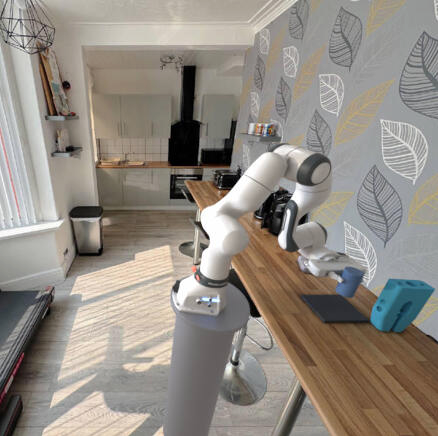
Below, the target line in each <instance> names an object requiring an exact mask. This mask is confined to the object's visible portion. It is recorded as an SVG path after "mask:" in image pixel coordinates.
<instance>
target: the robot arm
mask: <svg viewBox="0 0 438 436" xmlns="http://www.w3.org/2000/svg"><path fill="white" fill-rule="evenodd" d="M282 179H285V180H288V181H290V182H294V183H295V189H294V191H293V194H292V196H291V197H290V199H289V200H288V201H287V203H286V205H285V207H284V212H283V218H282V221H281V228H280V230H279V233H278V236H277V243H278V245H279V248H281V250H283V251H286V252H288V253H293V254H294V253H295V252H298V253H299V254H300V256H304V257H305V258H307V259H305V260H304V261H303V263H304V264H305V265H306V266H307V268H308V269H309V270H310V272H311V273H312V275H313V276H315V277H318V278H330V279H332V280H334V281H337V283H338V282H339V283H345V281H346V279H345V278H343V277H342V276H341V275H342V273H343V271H344V269H345V267H354V268H357V269H359V270H361V271H362V272H363V273H364V276H365V275H366V273H367V267H365V266H364V265H363V264H362V263H360V262H359V261H357V260H356V259H353V258H351V257H350V255H349V254H347V253H345V252H341V251H340V252H339V251H335V250H332V249H329V248H328V247H326V246H325V245H326V244H327V240H328V230H327V229H326V227H324V225H322V223H319V222H317V221H313V220H312V221H309V222H305V223H303V224H299V221H300V220H301V218H303V216H305V215H306V214H308V213H309V212H311V211H313V210H314V209H316V208H319V206H322V205H323V204H324V203H325V202H327V200H328V199H329V197H330V195H331V192H332V186H333V167H332V162H331V160H330V158H328V157H327V155H324V154H323V153H320V152H315V151H314V150H311V149H308V148H306V147H304V146H300V145H295V144H290V143H288V142H279V143H276V144H274V145H272V146H271V147H270V148H269V149H268V150H267V151H266V152H264V153H262V154H261V155H260V156H259V157H258V158H257V159H256V160H255V161H253V162H252V164H251V165H250V166H249V167H248V168H247V169H246V170H245V172H244V173H243V175H242V176H241V177H240V178H239V179H238V180H237V182H236V184H235V185H234V186H233V187H232V188H231V189H230V191H229V192H228V193H226V195H225V196H224V197H222V198H221V199H220V200H219V201H217V202H216V203H214V204H212V205H209V206H207V207H205V208H204V209H203V210H202V212H201V213H200V218H199V219H200V222H201V226H202V228H203V230H204V231H205V233H206V234H207V235H208V237H209V245H208V247H207V248H204V249H203V251H202V254H201V260H200V266H198V268H197V266H196V265H193V266H191V270H192V272H193V273H194V274H191V275H192V276H191V275H189V276H190V277H188V278H186V279H184V280H182V281H180V279H176V281H175V283H174V284H175V285H174V284H173V285H172V287H171V290H172V289H173V293H172V297H173V301H174V304H175V306H176V307H177V309H178V310H179V311H182V312H188V313H196V314H203V315H210V316H218V315H219V313H220V311H221V310H223V309H224V308H225V307H226V304H227V301H226V286H227V284H228V283H229V279H230V269H231V267H232V266H231V265H232V261H233V259H234V257H235V255H238V254H240V253H242V252H244V251H245V250H246V249H247V247H248V246H249V243H250V236H249V234H248V232H247V230H246V228H245V227H244V225H242V223H240V222H239V221H238V220H239V219H240V218H242V217H243V216H245V215H247V214H250V213H255V212H256V211H258V210H259V209H260V208H261V206H262V205H263V203H265V202H266V200H267V199H268V198H269V197H270V196H271V194H272V193H273V192H274V190H276V188H277V186H278V185H279V183H280V182H281V181H282ZM308 259H309V260H308ZM311 273H310V274H311ZM363 282H364V278H363V279H362V281H361V283H360V284H363Z"/></svg>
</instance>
